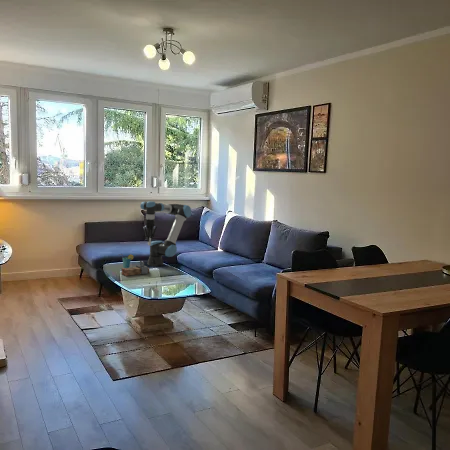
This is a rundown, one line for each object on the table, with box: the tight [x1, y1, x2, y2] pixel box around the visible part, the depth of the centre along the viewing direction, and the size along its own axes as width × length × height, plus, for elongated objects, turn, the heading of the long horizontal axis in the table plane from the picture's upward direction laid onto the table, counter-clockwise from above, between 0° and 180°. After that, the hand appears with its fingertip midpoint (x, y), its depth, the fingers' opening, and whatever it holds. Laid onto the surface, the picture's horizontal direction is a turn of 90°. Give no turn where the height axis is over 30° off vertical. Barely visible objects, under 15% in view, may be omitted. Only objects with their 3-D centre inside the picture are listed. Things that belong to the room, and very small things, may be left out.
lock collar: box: [135, 260, 149, 275], centre depth 389 cm, size 6×10×10 cm, turn 39°
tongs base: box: [120, 266, 150, 276], centre depth 387 cm, size 24×6×5 cm, turn 129°
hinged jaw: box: [123, 268, 142, 277], centre depth 383 cm, size 18×3×5 cm, turn 128°
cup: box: [117, 253, 134, 268], centre depth 398 cm, size 14×8×15 cm, turn 116°
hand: (149, 245), depth 393 cm, fingers closed
